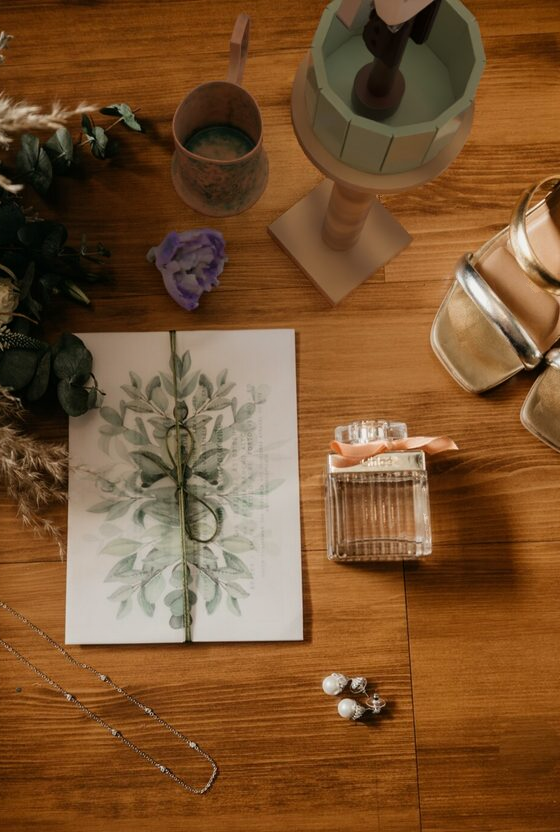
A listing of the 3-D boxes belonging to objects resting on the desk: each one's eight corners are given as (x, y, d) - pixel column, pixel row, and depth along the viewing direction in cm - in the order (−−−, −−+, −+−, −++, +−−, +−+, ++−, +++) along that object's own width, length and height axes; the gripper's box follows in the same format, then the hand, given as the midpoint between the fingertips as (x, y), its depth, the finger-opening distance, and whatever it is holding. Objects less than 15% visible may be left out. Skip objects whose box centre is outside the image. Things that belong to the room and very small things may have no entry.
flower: (108, 265, 77) (188, 258, 73) (137, 213, 81) (215, 204, 77) (145, 327, 84) (221, 324, 80) (170, 277, 88) (243, 271, 84)
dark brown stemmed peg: (378, 63, 57) (415, -65, 45) (411, 99, 57) (457, -20, 45) (340, 94, 57) (367, -27, 45) (373, 130, 57) (409, 19, 45)
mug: (291, 90, 86) (299, 16, 74) (255, 227, 84) (258, 174, 72) (198, 68, 86) (191, -9, 74) (160, 204, 85) (147, 147, 73)
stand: (345, 152, 85) (391, -20, 59) (428, 245, 84) (513, 111, 58) (248, 230, 84) (253, 90, 58) (332, 325, 83) (374, 225, 57)
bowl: (390, -1, 59) (406, -58, 54) (492, 109, 58) (519, 63, 53) (274, 92, 58) (277, 44, 53) (375, 205, 58) (390, 169, 52)
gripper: (404, -84, 31) (343, 148, 50) (668, -293, 32) (513, 10, 51) (293, -203, 32) (273, 70, 50) (555, -405, 33) (442, -65, 51)
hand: (394, 39), depth 50 cm, fingers closed on dark brown stemmed peg, 2 cm apart
